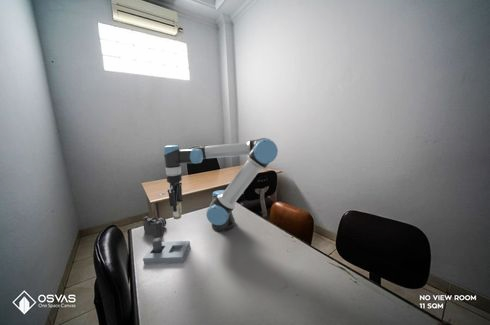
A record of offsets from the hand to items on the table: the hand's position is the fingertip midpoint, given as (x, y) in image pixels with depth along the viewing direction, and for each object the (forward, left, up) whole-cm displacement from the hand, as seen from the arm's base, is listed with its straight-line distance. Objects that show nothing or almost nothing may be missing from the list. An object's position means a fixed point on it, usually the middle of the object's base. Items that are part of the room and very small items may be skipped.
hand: (177, 214), depth 98 cm
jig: (+1, +14, -15) cm, 20 cm away
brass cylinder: (0, 0, -2) cm, 2 cm away
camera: (+16, -8, -15) cm, 24 cm away
